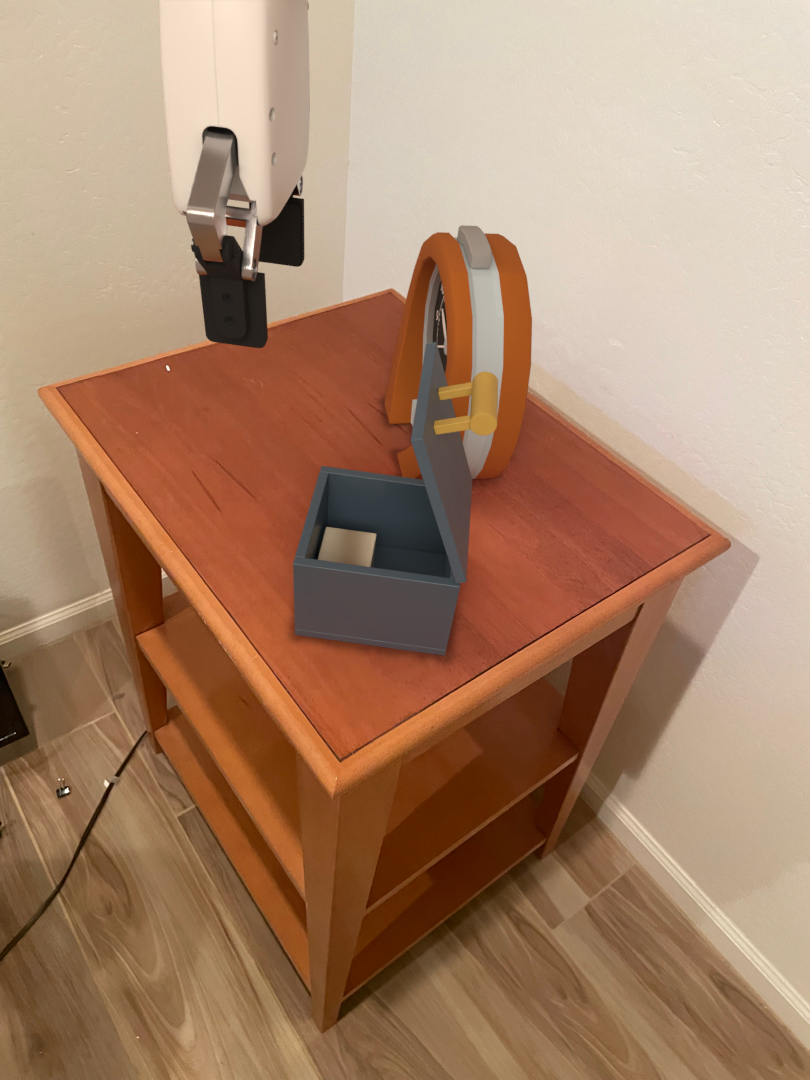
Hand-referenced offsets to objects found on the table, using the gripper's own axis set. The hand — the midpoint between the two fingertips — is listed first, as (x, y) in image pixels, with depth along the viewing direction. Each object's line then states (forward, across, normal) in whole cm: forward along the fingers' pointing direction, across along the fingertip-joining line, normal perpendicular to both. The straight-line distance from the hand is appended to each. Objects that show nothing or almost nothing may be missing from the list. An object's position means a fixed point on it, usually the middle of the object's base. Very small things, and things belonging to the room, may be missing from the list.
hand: (259, 299), depth 43 cm
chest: (+28, -3, +8) cm, 30 cm away
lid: (+13, -3, +12) cm, 18 cm away
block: (+28, -3, +6) cm, 28 cm away
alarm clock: (+28, -27, +12) cm, 41 cm away
